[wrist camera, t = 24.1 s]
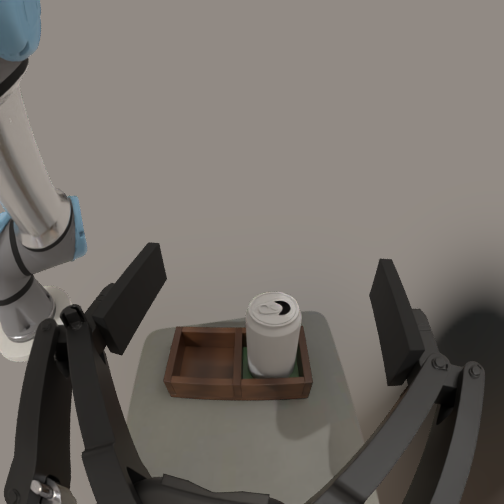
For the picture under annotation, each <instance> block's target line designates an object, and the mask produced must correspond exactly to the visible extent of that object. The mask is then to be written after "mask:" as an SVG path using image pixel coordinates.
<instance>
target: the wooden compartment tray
mask: <svg viewBox="0 0 504 504" xmlns="http://www.w3.org/2000/svg"><path fill="white" fill-rule="evenodd" d="M163 382H164V384H165V386H166V388H167V390H168V392H169V393H170V395H171V397H180V398H192V399H209V400H281V399H298V398H308V396H309V393H310V390H311V387H312V383H313V380H312V374H311V368H310V362H309V356H308V350H307V345H306V339H305V333H304V328H303V326H300V333H299V340H298V346H297V352H296V358H295V364H294V369H293V372H292V374H291V375H290V376H289V377H288V378H267V379H255V378H254V377H253V376H252V375H251V373H250V371H249V369H248V356H247V337H246V328H216V327H176V330H175V334H174V338H173V342H172V346H171V350H170V354H169V359H168V363H167V367H166V372H165V376H164V380H163Z"/></svg>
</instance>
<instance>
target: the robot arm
mask: <svg viewBox="0 0 504 504" xmlns="http://www.w3.org/2000/svg"><path fill="white" fill-rule="evenodd" d="M40 14H41V7H40V0H0V204H1V205H2V207H3V208H4V209H5V211H6V212H2V213H0V322H1V326H2V329H3V331H4V333H5V334H6V336H7V337H8V339H9V340H11V341H12V342H15V343H24V342H27V341H30V340H32V339H34V340H33V344H32V348H31V351H30V355H29V359H28V363H27V367H26V372H25V377H24V382H23V386H22V392H21V398H20V404H19V410H18V418H17V427H16V437H15V452H14V458H13V461H12V464H11V468H10V471H9V474H8V478H7V481H6V485H5V488H4V497H5V501H6V502H7V504H77V503H76V499H75V497H74V496H73V495H72V493H71V491H70V481H71V467H70V466H71V465H70V412H71V396H72V390H73V396H74V401H75V407H76V412H77V416H78V421H79V426H80V430H81V433H82V438H83V442H84V446H85V451H84V452H82V460H83V464H84V467H85V470H86V473H87V476H88V479H89V482H90V485H91V488H92V491H93V494H94V496H95V499H96V501H97V504H284V503H282V502H281V501H278V500H276V499H273V498H270V497H269V495H270V494H260V493H251V492H244V491H240V492H217V493H216V492H211V491H209V490H207V489H204V488H202V487H200V486H198V485H196V484H194V483H192V482H190V481H188V480H184V479H181V478H177V477H173V476H170V475H167V474H163V477H153V478H151V476H150V474H149V472H148V470H147V469H146V467H145V466H144V465H143V463H142V462H141V460H140V458H139V455H138V453H137V451H136V448H135V446H134V443H133V441H132V438H131V435H130V433H129V430H128V427H127V425H126V422H125V419H124V416H123V413H122V410H121V407H120V404H119V401H118V398H117V394H116V391H115V387H114V384H113V381H112V377H111V373H110V369H109V366H108V361H107V357H106V353H105V352H104V349H105V347H106V345H107V347H108V348H109V350H110V352H112V353H115V354H119V355H123V353H124V351H125V349H126V348H127V345H128V344H129V342H130V340H131V339H132V337H133V335H134V333H135V332H136V330H137V328H138V326H139V325H140V323H141V321H142V320H143V318H144V316H145V314H146V312H147V311H148V309H149V308H150V306H151V304H152V302H153V301H154V299H155V298H156V296H157V294H158V293H159V291H160V289H161V288H162V286H163V285H164V283H165V281H166V279H167V277H166V273H165V268H164V264H163V259H162V255H161V250H160V245H159V243H148V244H147V245H146V246H145V247H144V248H143V250H142V251H141V252H140V253H139V255H138V256H137V257H136V258H135V259H134V261H133V262H132V263H131V264H130V265H129V267H128V268H127V269H126V270H125V271H124V273H123V274H122V275H121V277H120V278H119V279H118V280H117V282H116V283H111V284H109V285H108V286H106V287H105V288H104V289H103V290H102V292H101V293H100V294H99V296H98V297H97V298H96V300H94V302H93V303H92V304H91V306H90V307H89V308H88V310H87V311H86V312H85V314H84V313H83V311H82V309H81V307H80V306H79V305H76V304H73V305H69V306H67V307H65V308H64V309H63V310H62V312H61V313H60V319H61V321H62V322H63V324H64V325H58V324H57V323H56V321H55V319H53V318H54V316H55V313H56V304H55V302H54V300H53V298H52V296H51V295H50V294H49V292H48V291H47V290H46V289H45V288H44V287H43V286H42V285H41V284H40V283H39V282H38V281H37V280H36V279H35V278H34V276H33V274H35V273H38V272H40V271H43V270H46V269H49V268H51V267H54V266H57V265H60V264H63V263H66V262H69V261H74V260H75V259H77V258H79V257H82V256H84V255H85V254H86V252H87V244H86V239H85V234H84V229H83V223H82V218H81V212H80V206H79V200H78V197H77V196H68V197H67V196H66V195H65V193H63V192H62V191H61V190H60V189H58V188H55V187H53V186H52V183H51V181H50V178H49V175H48V173H47V171H46V168H45V166H44V163H43V161H42V158H41V155H40V152H39V150H38V147H37V144H36V141H35V138H34V135H33V133H32V129H31V126H30V123H29V120H28V116H27V113H26V110H25V106H24V102H23V98H22V94H21V90H20V86H19V82H20V80H21V79H22V77H23V76H24V74H25V73H26V71H27V69H28V65H29V62H28V57H29V56H30V55H31V54H33V53H34V52H35V51H36V49H37V48H38V45H39V41H40V34H41V21H40ZM369 296H370V300H371V304H372V308H373V313H374V317H375V321H376V326H377V330H378V335H379V340H380V345H381V350H382V355H383V361H384V367H385V372H386V379H387V385H388V386H398V385H402V384H403V383H404V381H405V380H406V379H407V383H408V386H407V387H406V389H405V390H404V392H403V393H402V394H401V395H400V398H399V399H398V401H397V402H396V404H395V405H394V406H393V408H392V409H391V411H390V412H389V413H388V415H387V416H386V417H385V419H384V420H383V421H382V423H381V424H380V425H379V427H378V428H377V429H376V431H375V432H374V433H373V434H372V436H371V437H370V438H369V439H368V440H367V441H366V443H365V444H364V445H363V446H362V447H361V448H360V450H359V451H358V452H357V453H356V454H355V455H354V456H353V458H352V459H351V460H350V461H349V462H348V463H347V464H346V465H345V466H344V467H343V468H342V469H341V470H340V471H339V472H338V473H337V474H336V475H335V476H334V477H333V478H332V479H331V480H330V481H329V482H328V483H327V484H326V485H325V486H324V487H323V488H322V489H321V490H320V491H319V492H318V493H316V494H315V495H314V496H313V497H312V498H310V499H309V500H308V501H307V502H306V503H304V504H364V502H365V501H366V500H367V498H368V497H369V496H370V495H371V494H372V493H373V492H374V490H375V489H376V488H377V487H378V486H379V484H380V483H381V482H382V481H383V479H384V478H385V477H386V476H387V474H388V473H389V472H390V470H391V469H392V468H393V466H394V465H395V464H396V462H397V461H398V459H399V458H400V457H401V456H402V454H403V453H404V451H405V450H406V448H407V447H408V445H409V444H410V442H411V441H412V439H413V438H414V436H415V434H416V433H417V431H418V430H419V428H420V426H421V425H422V423H423V421H424V420H425V418H426V416H427V415H428V413H429V411H430V409H431V407H432V406H433V404H434V403H436V404H437V408H436V412H435V416H434V419H433V423H432V427H431V430H430V433H429V436H428V440H427V443H426V446H425V449H424V452H423V455H422V457H421V460H420V463H419V465H418V468H417V471H416V474H415V476H414V478H413V480H412V483H411V485H410V488H409V490H408V492H407V494H406V496H405V498H404V501H403V503H402V504H459V503H460V500H461V498H462V495H463V492H464V489H465V485H466V482H467V479H468V475H469V472H470V468H471V464H472V460H473V456H474V452H475V448H476V442H477V438H478V432H479V426H480V420H481V413H482V405H483V395H484V382H485V372H484V369H483V367H482V366H481V365H480V364H479V363H477V362H474V361H471V362H468V363H467V364H466V365H465V366H464V367H460V366H456V365H452V364H450V362H449V360H448V359H447V357H445V356H444V355H443V354H440V353H439V350H438V347H437V344H436V342H435V338H434V336H433V333H432V331H431V327H430V325H429V322H428V319H427V317H426V315H425V314H424V313H423V312H422V311H421V309H412V308H411V306H410V303H409V301H408V298H407V295H406V293H405V290H404V288H403V285H402V283H401V280H400V278H399V275H398V273H397V271H396V269H395V266H394V264H393V261H392V260H391V259H380V260H379V264H378V268H377V271H376V275H375V278H374V282H373V285H372V289H371V292H370V295H369Z"/></svg>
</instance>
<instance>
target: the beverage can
mask: <svg viewBox="0 0 504 504" xmlns="http://www.w3.org/2000/svg"><path fill="white" fill-rule="evenodd" d="M301 320H302V315H301V312H300V310H299V305H298V303H297V301H296V300H295V299H294V298H293V297H291V296H290V295H288V294H285V293H282V292H265V293H262V294H259V295H257V296H256V297H254V299H252V300H251V302H250V304H249V308H248V309H247V312H246V337H247V356H248V369H249V371H250V373H251V375H252V376H253V377H254V378H255V379H267V378H288V377H289V376H290V375H291V374H292V372H293V369H294V364H295V358H296V352H297V346H298V340H299V333H300V326H301Z"/></svg>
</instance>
